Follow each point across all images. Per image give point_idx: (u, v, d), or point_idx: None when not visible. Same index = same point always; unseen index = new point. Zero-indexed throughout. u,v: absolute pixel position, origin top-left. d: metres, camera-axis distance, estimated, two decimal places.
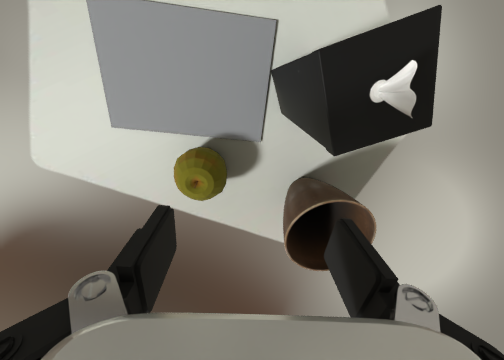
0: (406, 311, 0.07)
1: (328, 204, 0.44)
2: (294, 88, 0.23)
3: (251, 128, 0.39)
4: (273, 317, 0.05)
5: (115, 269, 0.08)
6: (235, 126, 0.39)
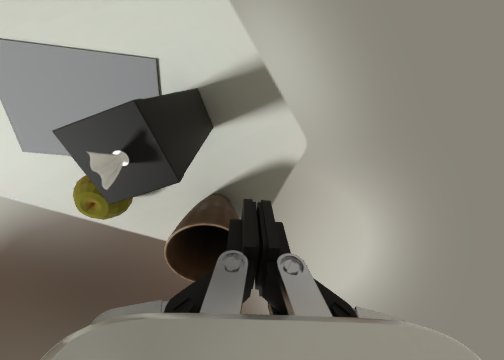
0: (292, 285, 0.07)
1: None
2: None
3: None
4: (273, 317, 0.05)
5: None
6: None
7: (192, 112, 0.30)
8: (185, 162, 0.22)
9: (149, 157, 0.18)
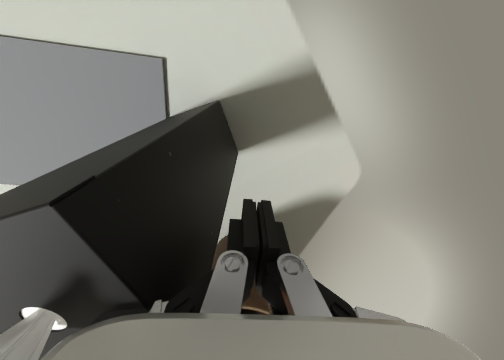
0: (292, 284, 0.07)
1: None
2: None
3: None
4: (273, 317, 0.05)
5: None
6: None
7: (214, 144, 0.19)
8: (204, 271, 0.11)
9: None
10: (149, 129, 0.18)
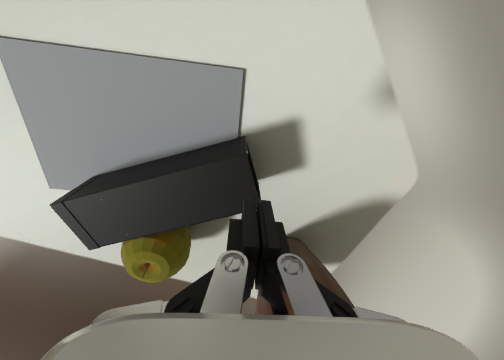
0: (292, 285, 0.07)
1: None
2: None
3: None
4: (273, 317, 0.05)
5: None
6: None
7: (173, 197, 0.24)
8: (110, 240, 0.27)
9: None
10: (170, 161, 0.27)
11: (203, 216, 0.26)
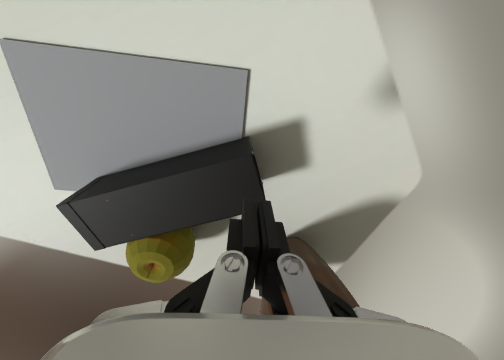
0: (292, 285, 0.07)
1: None
2: None
3: None
4: (273, 317, 0.05)
5: None
6: None
7: (178, 198, 0.24)
8: (115, 241, 0.27)
9: None
10: (174, 162, 0.27)
11: (208, 216, 0.26)
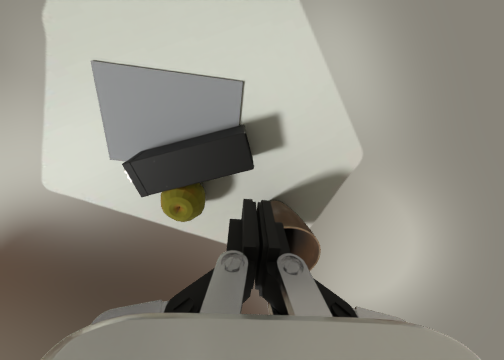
0: (292, 284, 0.07)
1: None
2: None
3: None
4: (273, 317, 0.05)
5: None
6: None
7: (198, 160, 0.39)
8: (155, 190, 0.42)
9: None
10: (194, 139, 0.42)
11: (216, 174, 0.41)
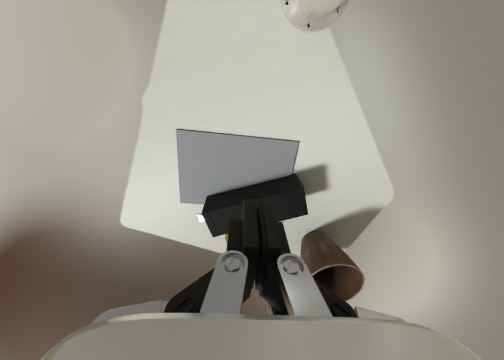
0: (292, 284, 0.07)
1: None
2: None
3: None
4: (273, 317, 0.05)
5: None
6: None
7: None
8: (225, 231, 0.50)
9: None
10: (256, 189, 0.50)
11: (277, 218, 0.49)
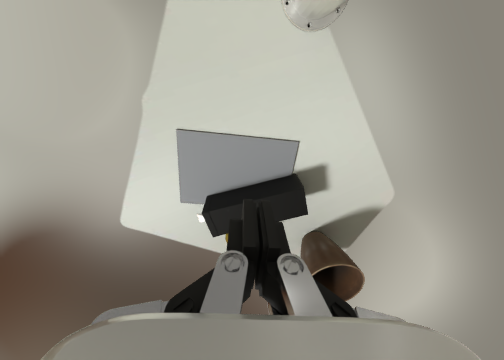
0: (292, 285, 0.07)
1: None
2: None
3: None
4: (273, 317, 0.05)
5: None
6: None
7: None
8: (225, 231, 0.50)
9: None
10: (256, 189, 0.50)
11: (277, 218, 0.49)
